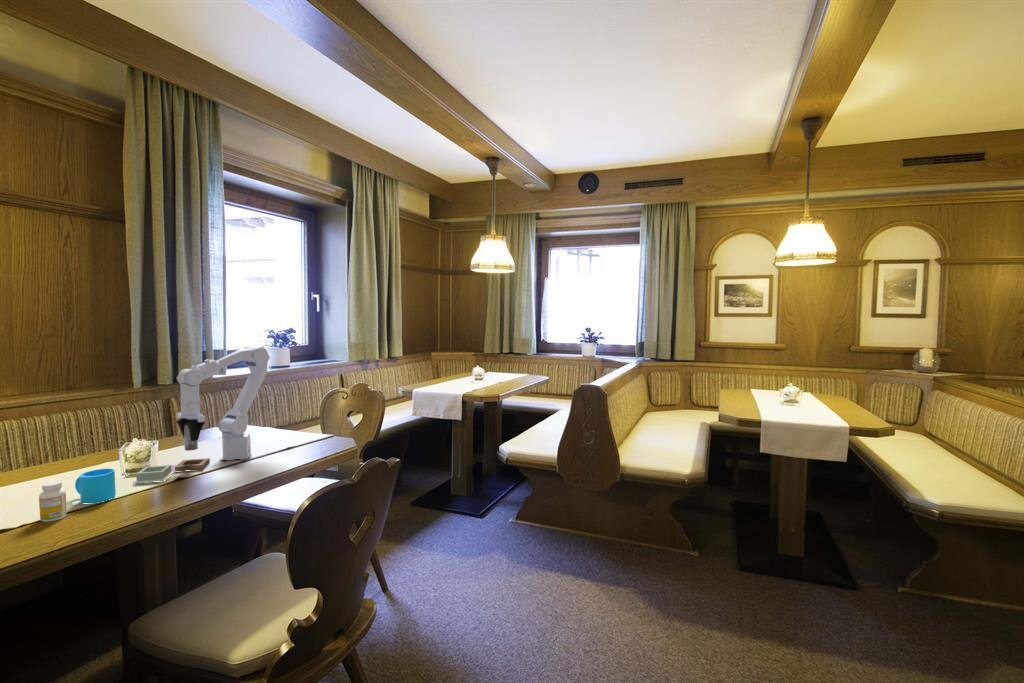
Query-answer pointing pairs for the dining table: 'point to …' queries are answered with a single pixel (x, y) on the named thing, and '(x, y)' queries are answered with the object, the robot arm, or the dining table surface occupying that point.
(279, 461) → the dining table surface
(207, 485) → the dining table surface
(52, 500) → the supplement bottle
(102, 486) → the mug
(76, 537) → the dining table surface
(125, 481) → the dining table surface
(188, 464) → the socket
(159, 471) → the grey square tray
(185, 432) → the peg
